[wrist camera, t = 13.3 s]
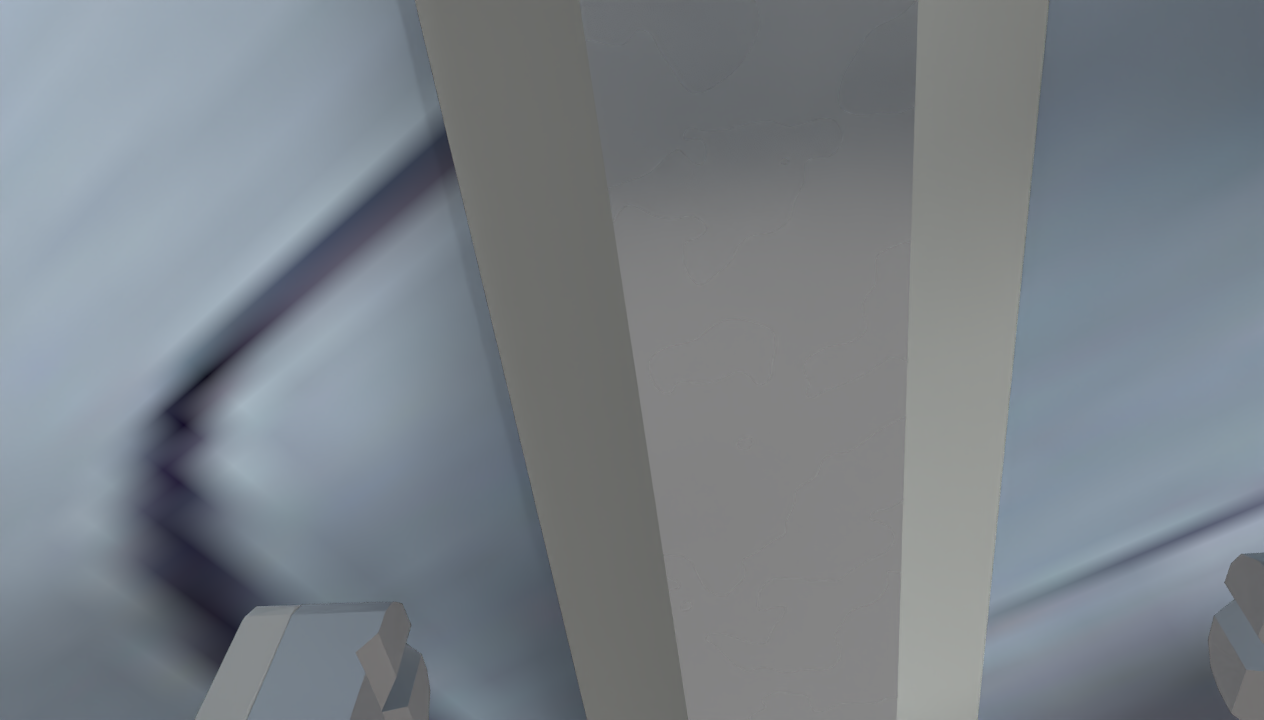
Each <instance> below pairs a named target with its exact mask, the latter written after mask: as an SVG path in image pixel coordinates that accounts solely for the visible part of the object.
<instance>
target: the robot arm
mask: <svg viewBox="0 0 1264 720" xmlns="http://www.w3.org/2000/svg"><path fill="white" fill-rule="evenodd" d="M1224 583H1225V584H1226V586H1227V588H1228V589H1229V591H1230V592H1231V594H1232V596H1233V597H1234V600H1233V601H1232V602H1230V603H1229V604H1228V605H1226V606H1225V607H1224V608H1223V609H1221V610H1220V611H1219V612H1218V613H1216V614H1215V615H1214V618H1213V622H1212V626H1211V630H1210V634H1209V637H1208V645H1209V655H1210V665H1211V670H1212V673H1213V675H1214V678H1215V681H1216V684H1217V687H1218V690H1219V692H1220V694H1221V696H1222V697H1223V699H1224V701H1225V703H1226V705H1227V707H1228V709H1229V710H1230V712H1231V714H1233V715H1234V716H1235V717H1237V718H1238V719H1240V720H1264V552H1263V553H1248V554H1241V555H1240V556H1239V557H1237V558H1236V559H1235V560H1234V561H1233V562H1232V563H1231V565H1230V568H1229V571H1228V574H1227V577H1226V580H1225V582H1224ZM410 627H411V624H410V621H409V619H408V616H407V614H406V612H405V609H404V607H403V604H402V603H398V602H363V603H328V604H302V605H285V606H256V607H255V608H254V609H253V610H252V611H251V612H250V613H249V614H247V615H246V616H245V617H244V619H243V620H242V622H241V624H240V626H239V628H238V630H237V633H236V635H235V637H234V639H233V641H232V643H231V645H230V647H229V649H228V651H227V653H226V655H225V657H224V659H223V661H222V663H221V666H220V668H219V670H218V672H217V674H216V676H215V678H214V680H213V682H212V684H211V686H210V688H209V690H208V692H207V694H206V696H205V699H204V701H203V703H202V705H201V707H200V709H199V711H198V713H197V715H196V717H195V719H194V720H429V701H430V687H429V680H428V673H427V668H426V666H425V663H424V660H423V657H422V654H421V653H419V652H418V651H417V650H415V649H414V648H412V647H411V646H409V645H408V644H407V643H406V641H407V638H408V634H409V631H410Z"/></svg>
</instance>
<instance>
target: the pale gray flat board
mask: <svg viewBox="0 0 1264 720" xmlns="http://www.w3.org/2000/svg"><path fill="white" fill-rule="evenodd" d="M415 3H416V7H417V12H418V16H419V20H420V24H421V28H422V32H423V37H424V41H425V45H426V49H427V53H428V58H429V62H430V66H431V70H432V74H433V78H434V83H435V87H436V91H437V95H438V99H439V103H440V108H441V112H442V116H443V120H444V124H445V129H446V133H447V137H448V141H449V145H450V149H451V154H452V158H453V162H454V166H455V170H456V174H457V179H458V183H459V187H460V191H461V195H462V200H463V204H464V208H465V212H466V216H467V220H468V225H469V229H470V233H471V237H472V241H473V245H474V250H475V254H476V258H477V262H478V266H479V271H480V275H481V279H482V283H483V287H484V291H485V296H486V300H487V304H488V308H489V312H490V316H491V321H492V325H493V329H494V333H495V337H496V342H497V346H498V350H499V354H500V358H501V362H502V367H503V371H504V375H505V379H506V383H507V387H508V392H509V396H510V400H511V404H512V408H513V413H514V417H515V421H516V425H517V429H518V433H519V438H520V442H521V446H522V450H523V454H524V458H525V463H526V467H527V471H528V475H529V479H530V484H531V488H532V492H533V496H534V500H535V504H536V509H537V513H538V517H539V521H540V525H541V529H542V534H543V538H544V542H545V546H546V550H547V555H548V559H549V563H550V567H551V571H552V575H553V580H554V584H555V588H556V592H557V596H558V600H559V605H560V609H561V613H562V617H563V621H564V626H565V630H566V634H567V638H568V642H569V646H570V651H571V655H572V659H573V663H574V667H575V671H576V676H577V680H578V684H579V688H580V692H581V697H582V701H583V705H584V709H585V713H586V717H587V720H688V715H687V708H686V702H685V695H684V688H683V682H682V675H681V669H680V662H679V655H678V649H677V642H676V636H675V629H674V622H673V616H672V609H671V603H670V596H669V589H668V583H667V576H666V569H665V563H664V556H663V550H662V543H661V536H660V530H659V523H658V517H657V510H656V503H655V497H654V490H653V484H652V477H651V470H650V464H649V457H648V451H647V444H646V437H645V431H644V424H643V418H642V411H641V404H640V398H639V391H638V385H637V378H636V371H635V365H634V358H633V352H632V345H631V338H630V332H629V325H628V319H627V312H626V305H625V299H624V292H623V286H622V279H621V272H620V266H619V259H618V253H617V246H616V239H615V233H614V226H613V220H612V213H611V206H610V200H609V193H608V187H607V180H606V173H605V167H604V160H603V154H602V147H601V140H600V134H599V127H598V121H597V114H596V107H595V101H594V94H593V88H592V81H591V74H590V68H589V61H588V55H587V48H586V41H585V35H584V28H583V22H582V15H581V8H580V2H579V0H415ZM1048 9H1049V0H918V22H917V56H916V90H915V124H914V157H913V191H912V225H911V258H910V292H909V326H908V360H907V393H906V427H905V461H904V494H903V528H902V562H901V596H900V629H899V663H898V697H897V720H978V711H979V701H980V691H981V681H982V671H983V661H984V651H985V641H986V630H987V620H988V610H989V600H990V590H991V580H992V570H993V560H994V550H995V540H996V530H997V520H998V510H999V500H1000V490H1001V480H1002V470H1003V460H1004V450H1005V440H1006V430H1007V420H1008V410H1009V400H1010V390H1011V380H1012V370H1013V360H1014V350H1015V340H1016V330H1017V320H1018V310H1019V300H1020V290H1021V279H1022V269H1023V259H1024V249H1025V239H1026V229H1027V219H1028V209H1029V199H1030V189H1031V179H1032V169H1033V159H1034V149H1035V139H1036V129H1037V119H1038V109H1039V99H1040V89H1041V79H1042V69H1043V59H1044V49H1045V39H1046V29H1047V19H1048Z"/></svg>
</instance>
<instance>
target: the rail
mask: <svg viewBox="0 0 1264 720" xmlns="http://www.w3.org/2000/svg"><path fill="white" fill-rule="evenodd" d="M579 2H580V8H581V15H582V22H583V28H584V35H585V41H586V48H587V55H588V61H589V68H590V74H591V81H592V88H593V94H594V101H595V107H596V114H597V121H598V127H599V134H600V140H601V147H602V154H603V160H604V167H605V173H606V180H607V187H608V193H609V200H610V206H611V213H612V220H613V226H614V233H615V239H616V246H617V253H618V259H619V266H620V272H621V279H622V286H623V292H624V299H625V305H626V312H627V319H628V325H629V332H630V338H631V345H632V352H633V358H634V365H635V371H636V378H637V385H638V391H639V398H640V404H641V411H642V418H643V424H644V431H645V437H646V444H647V451H648V457H649V464H650V470H651V477H652V484H653V490H654V497H655V503H656V510H657V517H658V523H659V530H660V536H661V543H662V550H663V556H664V563H665V569H666V576H667V583H668V589H669V596H670V603H671V609H672V616H673V622H674V629H675V636H676V642H677V649H678V655H679V662H680V669H681V675H682V682H683V688H684V695H685V702H686V708H687V715H688V720H897V697H898V663H899V629H900V596H901V562H902V528H903V494H904V461H905V427H906V393H907V360H908V326H909V292H910V258H911V225H912V191H913V157H914V124H915V90H916V56H917V22H918V0H579Z"/></svg>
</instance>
